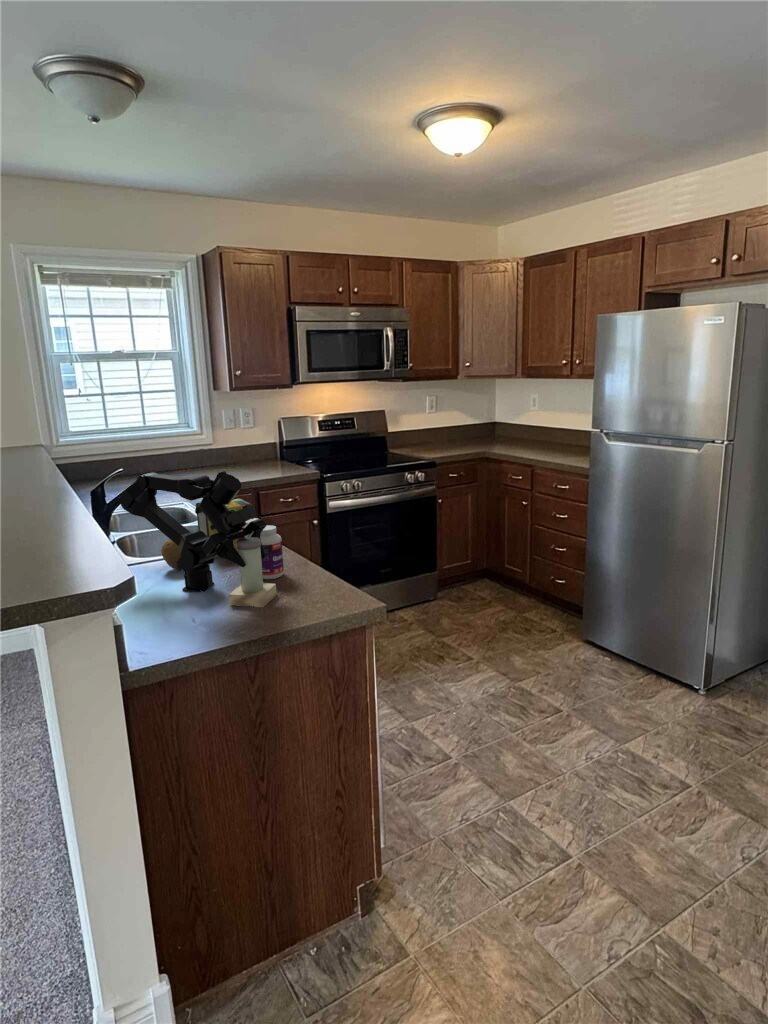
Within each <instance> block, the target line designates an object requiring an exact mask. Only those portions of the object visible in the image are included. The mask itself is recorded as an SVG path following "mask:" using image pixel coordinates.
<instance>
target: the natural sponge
mask: <svg viewBox="0 0 768 1024" xmlns="http://www.w3.org/2000/svg"><path fill="white" fill-rule="evenodd" d="M160 554H161V555H162V558H163V560H164V561H165V562H166V564H167V566H169V567H170V568H172V569H173V570H177V571H180V570H179V568H178V566H177V561H178V560H179V559H180V557H181V555H180V551H179V547H178V545H177V544H175V543H174V542H173V541H172V540H171V539H169V538H168V539H167V540H166V541H165V542H164V543H163V544H162V547H161V553H160Z"/></svg>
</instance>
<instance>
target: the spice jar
mask: <svg viewBox="0 0 768 1024" xmlns="http://www.w3.org/2000/svg"><path fill="white" fill-rule="evenodd" d="M236 543H237V548H238V553H239V555H240V556H241V558H242V559H243V561H244V562H245V564H246V566H245V567H241V566H239V575H240V585H241V588H242V591H243V592H246V593H253V592H258V591H261V590H263V588H264V586H263V583H264V579H263V574H262V562H261V550H260V546H261V540H260V539H259V538H255V537H249V538H242V539H239V540H237V541H236Z"/></svg>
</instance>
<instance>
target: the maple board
mask: <svg viewBox="0 0 768 1024" xmlns="http://www.w3.org/2000/svg"><path fill="white" fill-rule="evenodd" d="M263 586H264V588H263V590H261V591H258V592H253V593H246V592H243V591H242V588H241V584H240V585H239V586H237V587H236V588H235V589H233V591H232V592H230V593H229V594H228V596H229V597H228V599H229V600H228V601H229V606H232V605H236V607H247V606H252V607H251V608H264V607H265V606H266V605H267V604H268V603H269V602H271V600H273V598H274V597H276V596H277V595H276V594H277V583H269V582H268V583H267V582H263ZM253 606H254V607H253Z"/></svg>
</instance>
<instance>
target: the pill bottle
mask: <svg viewBox="0 0 768 1024" xmlns="http://www.w3.org/2000/svg"><path fill="white" fill-rule="evenodd" d="M266 525H267V524H266ZM260 538H261V543H262V546H263V549H264V552H265V556H266V557H265V558H264V559H262V558H261V562H262V574H263V580H275V579H278V578H280V577H282V576H283V574H284V571H285V570H284V569H285V568H284V554H283V544H282V543H283V542H282V541H283V540H282V537H281V535H280V534H278V533H277V526H275V525H267V526H266V527H265V528H264V529H263V531H262V532H261V535H260Z"/></svg>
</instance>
